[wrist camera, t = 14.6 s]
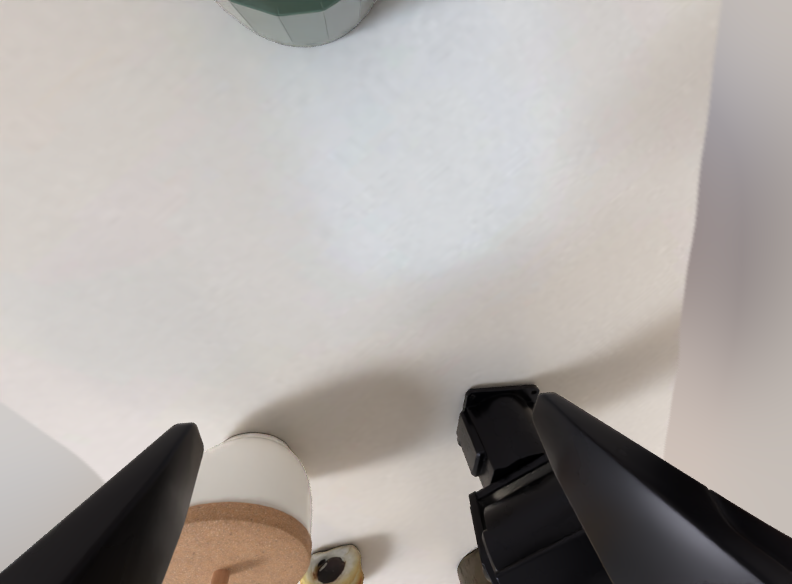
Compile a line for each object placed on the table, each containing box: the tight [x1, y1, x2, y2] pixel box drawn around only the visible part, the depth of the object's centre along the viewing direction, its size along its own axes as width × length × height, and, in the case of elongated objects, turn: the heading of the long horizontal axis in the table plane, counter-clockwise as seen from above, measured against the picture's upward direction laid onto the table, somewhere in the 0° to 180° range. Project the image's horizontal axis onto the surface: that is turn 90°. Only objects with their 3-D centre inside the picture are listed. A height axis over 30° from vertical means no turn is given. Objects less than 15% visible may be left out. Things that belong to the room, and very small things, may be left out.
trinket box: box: [162, 433, 312, 584], centre depth 22 cm, size 11×11×9 cm
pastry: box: [300, 545, 364, 584], centre depth 34 cm, size 9×7×4 cm
